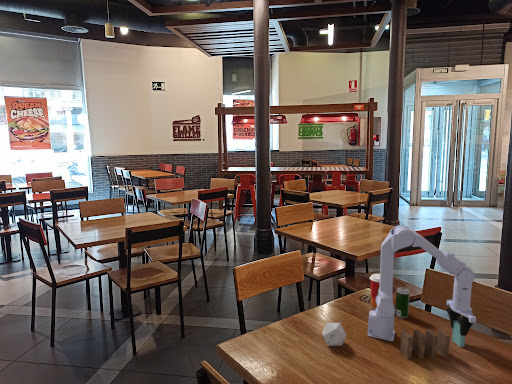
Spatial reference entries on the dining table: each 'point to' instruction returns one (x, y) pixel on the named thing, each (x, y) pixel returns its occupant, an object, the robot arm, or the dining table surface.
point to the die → (334, 334)
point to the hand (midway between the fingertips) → (458, 331)
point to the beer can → (402, 302)
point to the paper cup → (374, 288)
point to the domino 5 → (457, 334)
